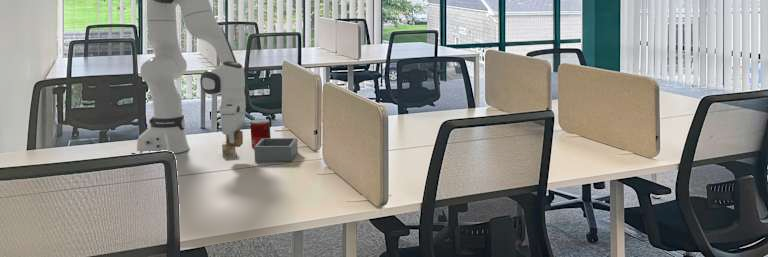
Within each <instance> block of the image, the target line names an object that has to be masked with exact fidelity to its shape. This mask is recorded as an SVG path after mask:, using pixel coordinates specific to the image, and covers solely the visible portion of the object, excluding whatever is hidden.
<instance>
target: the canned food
mask: <svg viewBox="0 0 768 257" xmlns="http://www.w3.org/2000/svg"><path fill="white" fill-rule="evenodd" d="M262 138H271V123H270V119H268V118H254V119H251V120H250V142H251V147H252V148H253V149H254V146H255V145H256V144H257V143H258V142H259V141H260V140H261V139H262Z"/></svg>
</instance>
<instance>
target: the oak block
mask: <svg viewBox="0 0 768 257" xmlns="http://www.w3.org/2000/svg"><path fill="white" fill-rule="evenodd" d="M221 149H222V157H225V158H226V157H236V156H237V152H236V147H227V146H226V140H225V141H221Z"/></svg>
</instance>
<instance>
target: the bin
mask: <svg viewBox="0 0 768 257" xmlns="http://www.w3.org/2000/svg"><path fill="white" fill-rule="evenodd" d="M253 149H254V162H255V163H293V161H294V159H295V158H296V157H297V155H298V153H299V147H298V137H286V138H285V137H283V138H282V137H274V138H273V137H272V138H262V139H261V140H260V141H259V142H258V143H257V144H256V145H255V146H254V148H253Z"/></svg>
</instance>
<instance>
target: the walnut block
mask: <svg viewBox="0 0 768 257" xmlns="http://www.w3.org/2000/svg"><path fill="white" fill-rule="evenodd" d="M243 134H244V132H243V130H240V131H235V132H234V138H235V142H234V143H230V142H229V136H228V135H227V134H225V141H226V146H227V147H235V148H240V147H241V146H242V145H244V144H243V143H244V142H243V141H244V136H243Z"/></svg>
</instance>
